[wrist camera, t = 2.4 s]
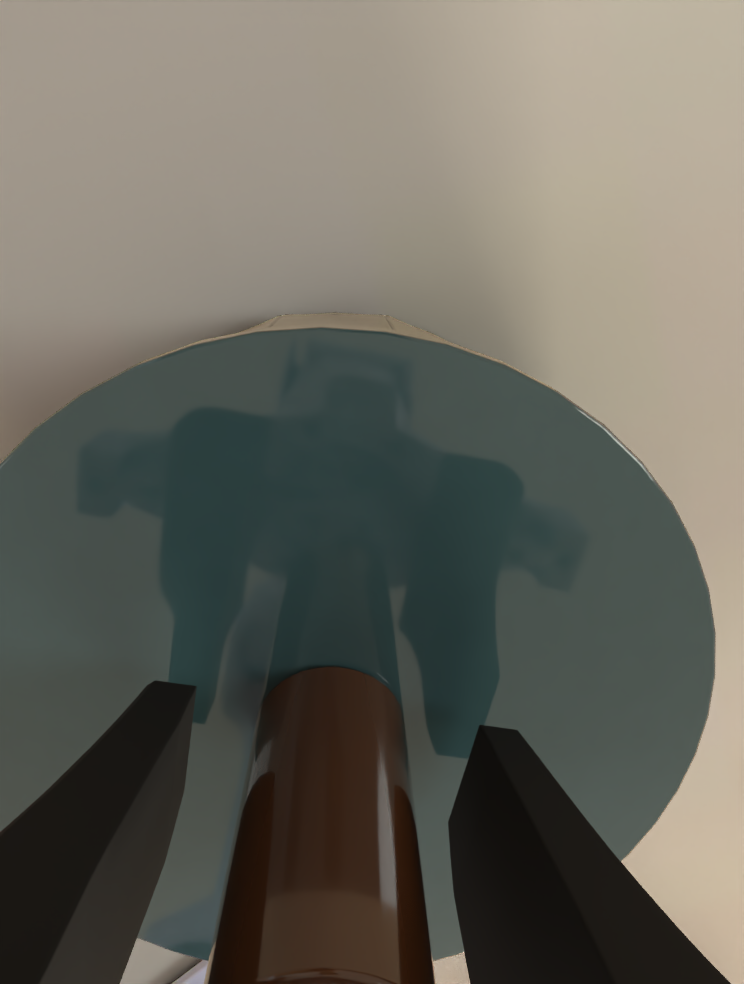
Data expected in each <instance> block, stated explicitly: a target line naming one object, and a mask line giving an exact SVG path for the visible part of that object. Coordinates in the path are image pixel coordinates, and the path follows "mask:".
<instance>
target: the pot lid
mask: <svg viewBox="0 0 744 984" xmlns="http://www.w3.org/2000/svg"><path fill="white" fill-rule="evenodd" d="M714 679H715V627H714V620H713V614H712V607H711V601H710V594H709V588H708V585H707V582H706V579H705V576H704V573H703V570H702V567H701V564H700V561H699V558H698V555H697V552H696V549H695V546H694V543H693V541H692V539H691V538H690V536H689V534H688V532H687V530H686V528H685V526H684V524H683V522H682V520H681V518H680V516H679V515H678V513H677V511H676V509H675V507H674V505H673V503H672V501H671V500H670V499H669V497H668V496H667V495H666V493H665V492H664V491H663V489H662V488H661V487H660V485H659V484H658V483H657V481H656V480H655V479H654V477H653V476H652V475H651V473H650V472H649V471H648V469H647V468H646V467H645V465H644V464H643V463H642V461H641V460H640V459H639V458H638V457H637V456H635V455H634V454H633V453H632V452H631V451H630V450H629V449H628V448H627V447H626V446H625V445H624V444H623V443H622V442H621V441H620V440H619V439H618V438H617V437H616V436H615V435H614V434H613V433H612V432H611V431H610V430H609V429H608V428H607V427H606V426H605V425H604V424H602V423H601V422H600V421H598V420H597V419H595V418H594V417H593V416H591V415H590V414H589V413H587V412H586V411H584V410H583V409H582V408H580V407H579V406H577V405H576V404H575V403H573V402H572V401H570V400H569V399H568V398H566V397H565V396H564V395H562V394H561V393H559V392H558V391H556V390H555V389H553V388H552V387H550V386H549V385H547V384H545V383H543V382H541V381H539V380H537V379H535V378H533V377H531V376H529V375H527V374H526V373H524V372H522V371H520V370H518V369H516V368H514V367H512V366H510V365H508V364H506V363H504V362H502V361H501V360H498V359H495V358H493V357H490V356H487V355H484V354H481V353H478V352H476V351H473V350H470V349H467V348H464V347H461V346H459V345H456V344H453V343H450V342H447V341H444V340H440V339H435V338H430V337H426V336H421V335H416V334H411V333H406V332H401V331H396V330H391V329H387V328H377V327H362V326H347V325H333V324H312V325H297V326H283V327H268V328H258V329H253V330H248V331H244V332H239V333H234V334H229V335H224V336H219V337H214V338H210V339H205V340H200V341H197V342H195V343H192V344H189V345H186V346H183V347H181V348H178V349H175V350H172V351H169V352H166V353H164V354H161V355H158V356H155V357H152V358H150V359H147V360H144V361H142V362H140V363H138V364H136V365H134V366H132V367H131V368H129V369H127V370H125V371H123V372H121V373H119V374H117V375H115V376H113V377H112V378H110V379H108V380H106V381H104V382H102V383H100V384H98V385H96V386H95V387H93V388H91V389H89V390H87V391H85V392H83V393H81V394H80V395H79V396H77V397H76V398H75V399H73V400H72V401H70V402H69V403H68V404H66V405H65V406H64V407H62V408H61V409H60V410H58V411H57V412H56V413H54V414H53V415H51V416H50V417H49V418H47V419H46V420H45V421H43V422H42V423H41V424H39V425H38V426H36V427H35V428H34V429H33V430H32V431H31V432H30V433H29V434H28V435H27V436H26V437H25V438H24V439H23V440H22V441H21V442H20V443H19V444H18V445H17V446H16V447H15V448H14V449H13V450H12V451H11V452H10V453H9V454H8V455H7V456H6V457H5V458H4V459H3V460H2V461H1V462H0V832H1V831H2V830H3V829H4V828H5V827H6V826H8V825H9V824H10V823H11V822H12V821H13V820H14V819H15V818H17V817H18V816H19V815H20V814H21V813H22V812H23V811H24V810H26V809H27V808H28V807H29V806H30V805H31V804H32V803H33V802H34V801H36V800H37V799H38V798H39V797H40V796H41V795H42V794H43V793H44V792H45V791H46V790H47V789H48V788H50V787H51V786H52V785H53V784H54V783H55V782H56V781H57V780H58V779H59V778H60V777H61V776H62V775H63V774H64V773H65V772H66V771H67V770H68V769H69V768H70V767H71V766H72V765H73V764H74V763H75V762H76V761H77V760H78V759H79V758H80V757H81V756H82V755H83V754H84V753H85V752H86V751H87V750H88V749H89V748H90V747H91V746H92V745H93V744H94V743H95V742H96V741H97V740H98V739H99V738H100V737H101V736H102V735H103V734H104V733H105V732H106V731H107V729H108V728H109V727H110V726H111V725H112V724H113V723H114V722H115V721H116V720H117V719H118V718H119V717H120V716H121V714H122V713H123V712H124V711H125V710H126V709H127V708H128V707H129V705H130V704H131V703H132V702H133V701H134V700H135V699H136V697H137V696H138V695H139V694H140V693H141V692H142V690H143V689H144V688H145V687H146V686H147V685H148V684H150V683H152V682H153V681H155V680H156V681H164V682H171V683H178V684H186V685H193V686H197V688H196V696H195V705H194V713H193V721H192V730H191V738H190V747H189V755H188V764H187V772H186V780H185V789H184V794H183V797H182V801H181V805H180V809H179V812H178V816H177V820H176V824H175V827H174V831H173V835H172V838H171V842H170V846H169V849H168V853H167V857H166V860H165V864H164V866H163V869H162V872H161V874H160V877H159V880H158V883H157V885H156V888H155V891H154V893H153V896H152V899H151V901H150V904H149V907H148V909H147V912H146V915H145V917H144V920H143V923H142V925H141V928H140V931H139V933H138V936H137V938H139V939H142V940H144V941H147V942H150V943H152V944H155V945H158V946H160V947H163V948H165V949H168V950H171V951H173V952H177V953H180V954H184V955H187V956H191V957H195V958H198V959H202V960H206V961H208V965H207V970H206V975H205V980H204V984H436V983H435V975H434V966H433V961H436V960H440V959H444V958H448V957H452V956H456V955H459V954H462V953H464V947H463V942H462V937H461V931H460V926H459V921H458V915H457V910H456V904H455V898H454V892H453V881H452V870H451V858H450V844H449V830H448V821H449V818H450V815H451V811H452V808H453V805H454V802H455V799H456V796H457V793H458V790H459V787H460V784H461V780H462V777H463V774H464V771H465V768H466V765H467V762H468V759H469V756H470V753H471V749H472V746H473V743H474V740H475V737H476V734H477V731H478V728H479V725H485V726H493V727H500V728H507V729H515V730H518V731H519V732H520V734H521V735H522V736H523V737H524V739H525V740H526V741H527V743H528V744H529V745H530V746H531V748H532V749H533V750H534V752H535V753H536V754H537V756H538V757H539V758H540V759H541V761H542V762H543V763H544V765H545V766H546V767H547V769H548V770H549V771H550V773H551V774H552V775H553V777H554V778H555V779H556V781H557V782H558V783H559V784H560V786H561V787H562V788H563V790H564V791H565V792H566V794H567V795H568V796H569V797H570V799H571V800H572V801H573V803H574V804H575V805H576V807H577V808H578V809H579V810H580V812H581V813H582V814H583V815H584V817H585V818H586V819H587V821H588V822H589V823H590V824H591V826H592V827H593V828H594V829H595V831H596V832H597V833H598V834H599V836H600V837H601V838H602V839H603V841H604V842H605V843H606V844H607V846H608V847H609V848H610V849H611V850H612V852H613V853H614V854H615V855H616V857H617V858H618V859H619V860H620V861H622V860H623V859H624V858H625V857H626V856H628V855H629V854H630V853H631V851H632V850H633V849H634V848H635V847H636V846H637V845H638V843H639V842H640V841H641V840H642V839H643V838H644V836H645V835H646V834H647V833H648V832H649V831H650V830H651V828H652V827H653V826H654V825H655V824H656V822H657V821H658V819H659V818H660V816H661V815H662V813H663V812H664V810H665V809H666V807H667V806H668V804H669V803H670V801H671V800H672V798H673V797H674V796H675V794H676V793H677V791H678V789H679V787H680V785H681V783H682V781H683V779H684V777H685V775H686V773H687V771H688V769H689V767H690V765H691V763H692V761H693V759H694V757H695V755H696V752H697V749H698V746H699V743H700V740H701V737H702V734H703V730H704V727H705V724H706V721H707V718H708V715H709V709H710V703H711V697H712V691H713V685H714Z"/></svg>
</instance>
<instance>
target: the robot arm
mask: <svg viewBox="0 0 744 984" xmlns="http://www.w3.org/2000/svg"><path fill="white" fill-rule="evenodd" d="M196 688H197V686H193V685H186V684H178V683H171V682H164V681H156V680H155V681H153V682H152V683H150V684H148V685H147V686H146V687H145V688H144V689H143V690H142V692H141V693H140V694H139V695H138V696H137V697H136V699H135V700H134V701H133V702H132V703H131V704H130V705H129V707H128V708H127V709H126V710H125V711H124V712H123V713H122V714H121V716H120V717H119V718H118V719H117V720H116V721H115V722H114V723H113V724H112V725H111V726H110V727H109V728H108V729H107V731H106V732H105V733H104V734H103V735H102V736H101V737H100V738H99V739H98V740H97V741H96V742H95V743H94V744H93V745H92V746H91V747H90V748H89V749H88V750H87V751H86V752H85V753H84V754H83V755H82V756H81V757H80V758H79V759H78V760H77V761H76V762H75V763H74V764H73V765H72V766H71V767H70V768H69V769H68V770H67V771H66V772H65V773H64V774H63V775H62V776H61V777H60V778H59V779H58V780H57V781H56V782H55V783H54V784H53V785H52V786H51V787H50V788H48V789H47V790H46V791H45V792H44V793H43V794H42V795H41V796H40V797H39V798H38V799H37V800H36V801H34V802H33V803H32V804H31V805H30V806H29V807H28V808H27V809H26V810H24V811H23V812H22V813H21V814H20V815H19V816H18V817H17V818H15V819H14V820H13V821H12V822H11V823H10V824H9V825H8V826H6V827H5V828H4V829H3V830H2V831H1V832H0V984H120V981H121V979H122V976H123V973H124V971H125V968H126V965H127V963H128V960H129V957H130V955H131V952H132V949H133V947H134V944H135V941H136V939H137V936H138V933H139V931H140V928H141V925H142V923H143V920H144V917H145V915H146V912H147V909H148V907H149V904H150V901H151V899H152V896H153V893H154V891H155V888H156V885H157V883H158V880H159V877H160V874H161V872H162V869H163V866H164V864H165V860H166V857H167V853H168V849H169V846H170V842H171V838H172V835H173V831H174V827H175V824H176V820H177V816H178V812H179V809H180V805H181V801H182V797H183V794H184V789H185V780H186V772H187V764H188V755H189V747H190V738H191V730H192V721H193V713H194V705H195V696H196ZM448 830H449V844H450V858H451V870H452V881H453V892H454V898H455V904H456V910H457V915H458V921H459V926H460V931H461V937H462V942H463V947H464V953H465V958H466V963H467V968H468V973H469V978H470V984H731V983H730V982H729V981H728V980H727V979H726V978H725V977H724V976H723V975H722V974H721V973H720V972H719V971H718V970H717V969H716V968H715V967H714V966H713V965H712V964H711V963H710V962H709V961H708V960H707V959H706V958H705V957H704V956H703V954H702V953H701V952H700V951H699V950H698V949H697V948H696V947H695V946H694V945H693V944H692V943H691V942H690V941H689V939H688V938H687V937H686V936H685V935H684V934H683V933H682V932H681V931H680V930H679V928H678V927H677V926H676V925H675V924H674V923H673V922H672V921H671V919H670V918H669V917H668V916H667V915H666V914H665V913H664V911H663V910H662V909H661V908H660V907H659V906H658V905H657V903H656V902H655V901H654V900H653V899H652V898H651V897H650V896H649V894H648V893H647V892H646V891H645V890H644V889H643V888H642V886H641V885H640V884H639V883H638V882H637V881H636V879H635V878H634V877H633V876H632V875H631V873H630V872H629V871H628V870H627V869H626V867H625V866H624V865H623V864H622V863H621V861H620V860H619V859H618V858H617V857H616V855H615V854H614V853H613V852H612V850H611V849H610V848H609V847H608V846H607V844H606V843H605V842H604V841H603V839H602V838H601V837H600V836H599V834H598V833H597V832H596V831H595V829H594V828H593V827H592V826H591V824H590V823H589V822H588V821H587V819H586V818H585V817H584V815H583V814H582V813H581V812H580V810H579V809H578V808H577V807H576V805H575V804H574V803H573V801H572V800H571V799H570V797H569V796H568V795H567V794H566V792H565V791H564V790H563V788H562V787H561V786H560V784H559V783H558V782H557V781H556V779H555V778H554V777H553V775H552V774H551V773H550V771H549V770H548V769H547V767H546V766H545V765H544V763H543V762H542V761H541V759H540V758H539V757H538V756H537V754H536V753H535V752H534V750H533V749H532V748H531V746H530V745H529V744H528V743H527V741H526V740H525V739H524V737H523V736H522V735H521V734H520V732H519V731H518V730H515V729H507V728H500V727H493V726H485V725H479V728H478V731H477V734H476V737H475V740H474V743H473V746H472V749H471V753H470V756H469V759H468V762H467V765H466V768H465V771H464V774H463V777H462V780H461V784H460V787H459V790H458V793H457V796H456V799H455V802H454V805H453V808H452V811H451V815H450V818H449V821H448ZM207 965H208V961H206V960H202V961H201V962H199V963H198V964H197V965H195V966H194V967H193V968H192V969H190V970H189V971H188V972H186V973H185V974H184V975H182V976H181V977H180V978H178V979H177V980H176V981H174V982H173V983H172V984H204V980H205V975H206V970H207Z"/></svg>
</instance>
